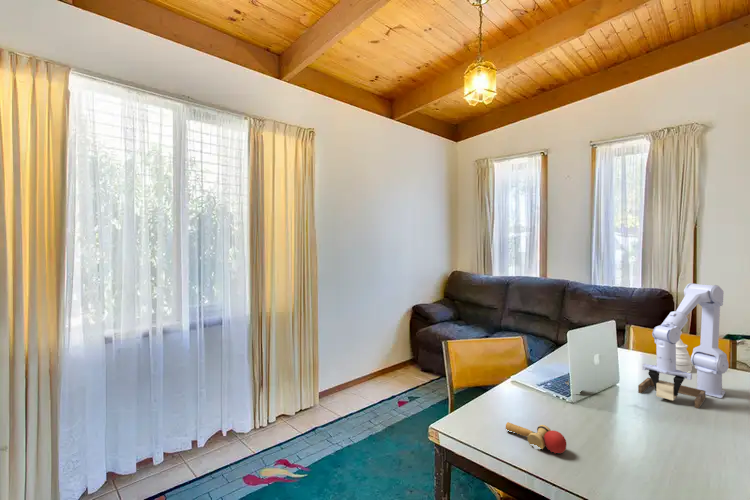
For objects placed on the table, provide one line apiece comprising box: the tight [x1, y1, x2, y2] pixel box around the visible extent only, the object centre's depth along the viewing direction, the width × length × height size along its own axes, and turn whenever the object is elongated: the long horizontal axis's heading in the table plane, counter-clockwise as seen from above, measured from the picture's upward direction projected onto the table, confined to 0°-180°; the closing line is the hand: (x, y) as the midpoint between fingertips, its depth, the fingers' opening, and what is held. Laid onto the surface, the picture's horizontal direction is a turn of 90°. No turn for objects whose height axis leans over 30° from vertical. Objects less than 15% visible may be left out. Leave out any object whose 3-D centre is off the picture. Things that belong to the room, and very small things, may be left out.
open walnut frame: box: [637, 377, 707, 409], centre depth 137 cm, size 13×18×3 cm
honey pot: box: [676, 331, 693, 372], centre depth 166 cm, size 13×13×18 cm
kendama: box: [505, 421, 567, 454], centre depth 106 cm, size 8×6×18 cm
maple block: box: [655, 379, 678, 401], centre depth 133 cm, size 5×5×5 cm
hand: (666, 392), depth 133 cm, fingers closed on maple block, 5 cm apart
